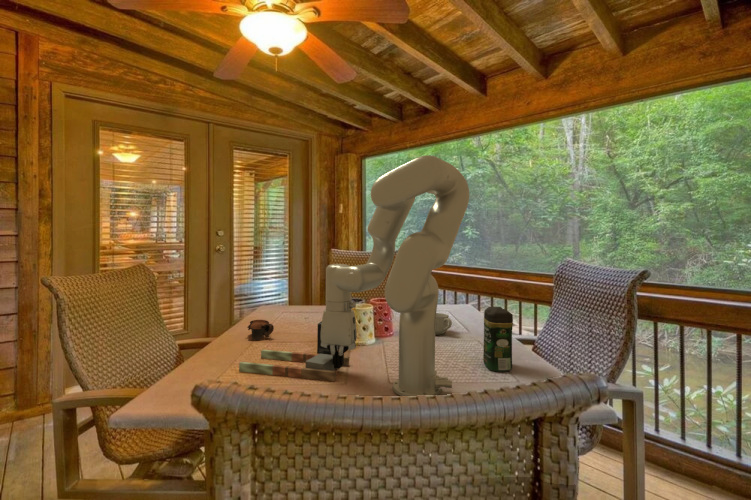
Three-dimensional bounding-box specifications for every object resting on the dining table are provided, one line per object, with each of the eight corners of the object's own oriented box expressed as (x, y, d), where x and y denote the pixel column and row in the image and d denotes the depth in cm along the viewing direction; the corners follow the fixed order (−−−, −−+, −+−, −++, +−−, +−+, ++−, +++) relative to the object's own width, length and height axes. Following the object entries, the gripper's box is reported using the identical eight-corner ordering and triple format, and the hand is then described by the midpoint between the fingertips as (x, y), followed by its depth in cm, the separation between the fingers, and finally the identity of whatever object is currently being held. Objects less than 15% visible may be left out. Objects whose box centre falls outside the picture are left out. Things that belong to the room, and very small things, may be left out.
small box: (334, 355, 127) (334, 324, 127) (316, 354, 129) (316, 323, 128) (343, 346, 138) (343, 317, 137) (326, 345, 139) (326, 317, 138)
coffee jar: (480, 361, 122) (481, 304, 121) (505, 362, 121) (506, 305, 121) (488, 372, 112) (489, 311, 111) (515, 373, 112) (516, 311, 111)
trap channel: (349, 365, 118) (349, 357, 118) (334, 381, 105) (334, 372, 105) (263, 356, 125) (262, 349, 125) (239, 371, 112) (239, 363, 112)
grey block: (336, 368, 115) (336, 356, 115) (323, 378, 108) (323, 364, 108) (320, 366, 118) (320, 353, 117) (305, 374, 110) (305, 361, 110)
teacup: (417, 331, 159) (417, 312, 158) (438, 328, 163) (439, 310, 163) (435, 340, 146) (436, 319, 146) (458, 336, 151) (459, 317, 150)
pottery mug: (240, 341, 144) (242, 320, 148) (256, 346, 152) (258, 326, 156) (266, 336, 140) (267, 315, 144) (281, 341, 148) (282, 321, 152)
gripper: (366, 305, 113) (365, 365, 114) (319, 302, 116) (319, 360, 117) (359, 310, 105) (358, 374, 106) (309, 307, 109) (309, 369, 110)
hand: (338, 367), depth 112 cm, fingers closed
